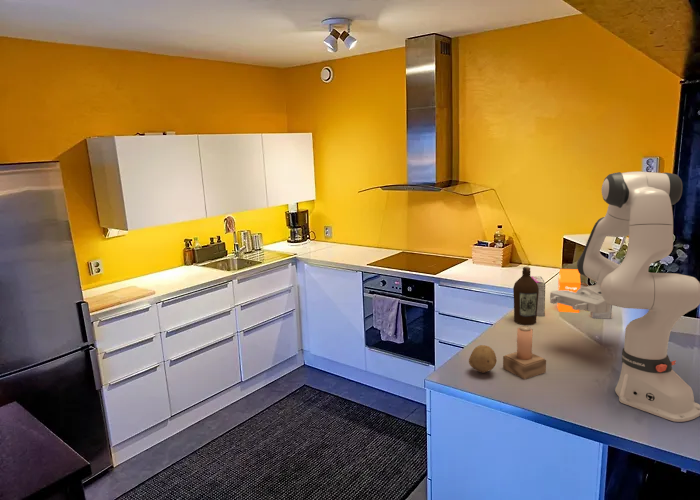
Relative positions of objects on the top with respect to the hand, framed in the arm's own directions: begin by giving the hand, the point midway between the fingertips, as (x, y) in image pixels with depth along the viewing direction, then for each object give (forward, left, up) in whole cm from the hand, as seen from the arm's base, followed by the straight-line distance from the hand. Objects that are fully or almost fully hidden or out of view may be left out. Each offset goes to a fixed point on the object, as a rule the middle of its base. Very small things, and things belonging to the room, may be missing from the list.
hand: (562, 304), depth 170 cm
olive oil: (+35, -19, -21) cm, 45 cm away
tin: (+47, -66, -21) cm, 84 cm away
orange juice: (+36, -48, -21) cm, 64 cm away
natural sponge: (+6, +31, -21) cm, 38 cm away
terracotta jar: (0, +18, -16) cm, 24 cm away
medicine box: (+21, -51, -21) cm, 59 cm away
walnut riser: (0, +18, -21) cm, 28 cm away
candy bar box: (+41, -33, -21) cm, 57 cm away
